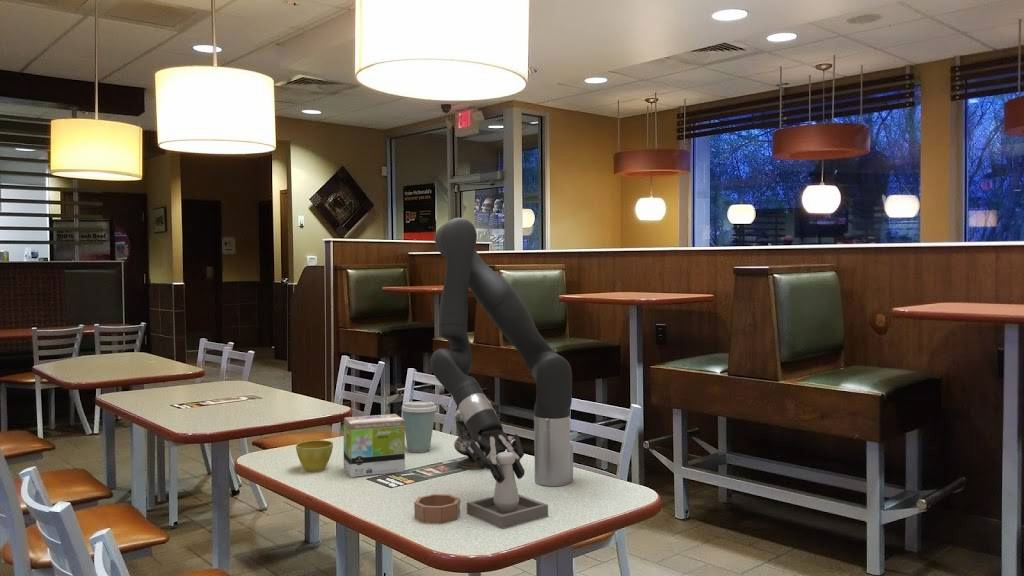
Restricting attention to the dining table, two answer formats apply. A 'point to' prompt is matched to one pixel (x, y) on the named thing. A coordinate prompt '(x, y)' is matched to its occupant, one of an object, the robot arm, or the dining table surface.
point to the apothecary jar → (464, 444)
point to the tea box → (374, 445)
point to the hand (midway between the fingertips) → (511, 478)
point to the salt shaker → (506, 484)
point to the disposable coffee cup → (418, 425)
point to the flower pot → (314, 454)
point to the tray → (523, 513)
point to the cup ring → (437, 508)
